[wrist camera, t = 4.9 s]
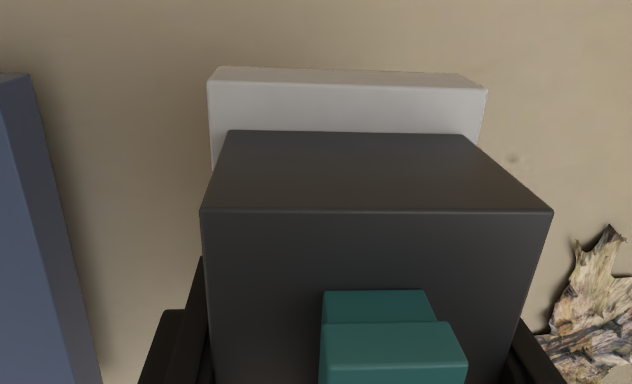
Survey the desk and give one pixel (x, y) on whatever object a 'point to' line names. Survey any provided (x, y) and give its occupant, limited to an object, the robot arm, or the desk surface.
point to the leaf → (591, 316)
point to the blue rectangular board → (36, 257)
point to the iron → (360, 230)
